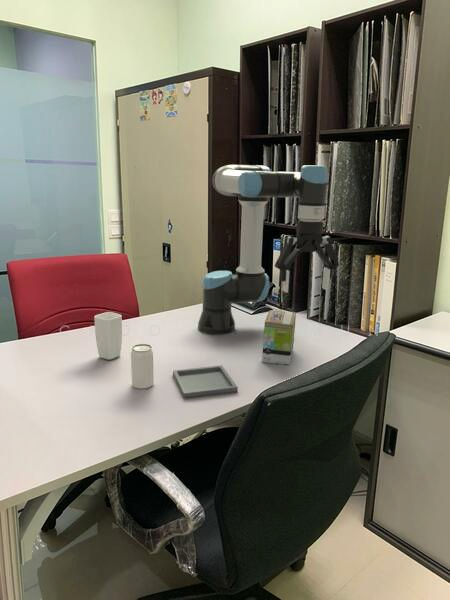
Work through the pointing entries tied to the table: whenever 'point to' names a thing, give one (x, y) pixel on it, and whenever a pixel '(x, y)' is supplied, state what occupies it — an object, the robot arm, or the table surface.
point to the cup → (108, 334)
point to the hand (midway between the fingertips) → (305, 290)
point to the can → (142, 366)
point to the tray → (204, 382)
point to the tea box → (278, 337)
